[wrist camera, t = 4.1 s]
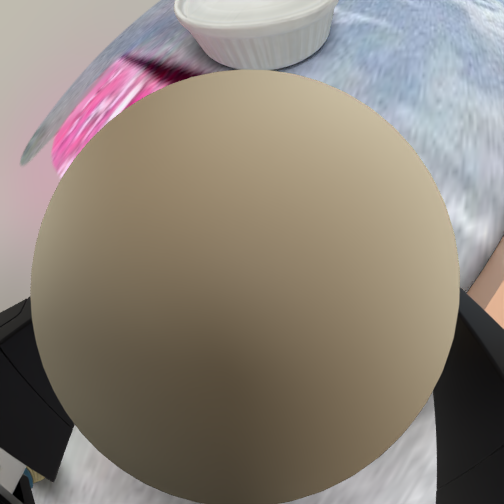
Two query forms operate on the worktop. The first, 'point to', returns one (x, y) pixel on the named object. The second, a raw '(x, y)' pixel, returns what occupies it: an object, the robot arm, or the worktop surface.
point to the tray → (491, 286)
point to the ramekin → (257, 30)
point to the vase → (245, 288)
